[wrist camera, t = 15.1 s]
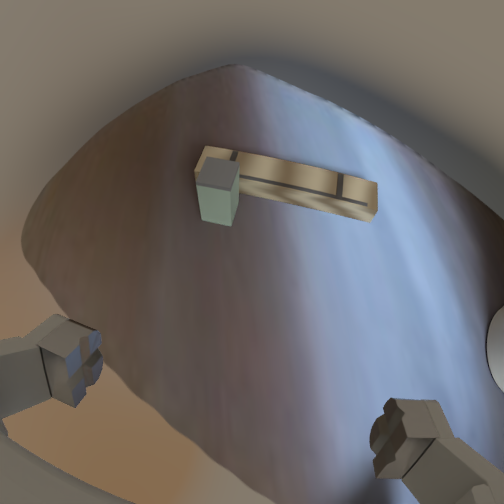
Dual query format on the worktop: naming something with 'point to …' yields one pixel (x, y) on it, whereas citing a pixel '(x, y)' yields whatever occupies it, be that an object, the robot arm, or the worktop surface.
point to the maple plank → (300, 184)
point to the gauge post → (218, 190)
